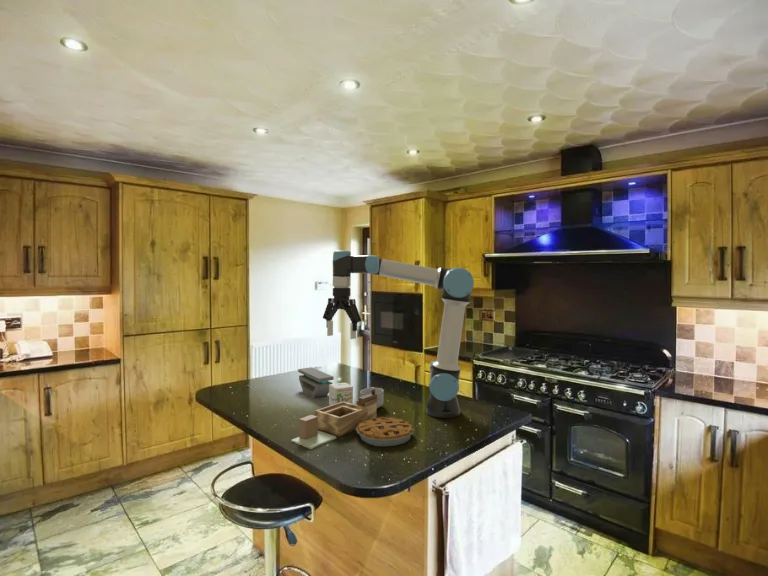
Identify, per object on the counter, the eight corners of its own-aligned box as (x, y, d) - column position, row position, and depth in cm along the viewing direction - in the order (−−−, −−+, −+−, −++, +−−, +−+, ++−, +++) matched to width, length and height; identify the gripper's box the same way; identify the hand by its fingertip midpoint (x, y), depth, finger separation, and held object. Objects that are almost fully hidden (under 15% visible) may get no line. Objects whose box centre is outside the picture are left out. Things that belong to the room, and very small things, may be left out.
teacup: (380, 411, 189) (381, 394, 189) (357, 410, 191) (357, 392, 191) (386, 402, 203) (387, 386, 202) (365, 401, 205) (365, 384, 205)
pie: (368, 452, 146) (368, 438, 146) (348, 431, 166) (348, 418, 166) (424, 443, 155) (424, 429, 155) (398, 423, 175) (398, 411, 175)
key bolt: (376, 400, 181) (377, 389, 180) (363, 405, 174) (363, 393, 173) (372, 399, 182) (372, 388, 182) (358, 404, 175) (358, 392, 175)
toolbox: (378, 420, 178) (378, 399, 178) (339, 436, 160) (339, 413, 160) (353, 413, 187) (353, 393, 186) (314, 427, 169) (314, 406, 168)
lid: (336, 439, 158) (336, 418, 158) (311, 450, 148) (311, 427, 148) (316, 432, 165) (316, 412, 164) (291, 442, 155) (291, 420, 154)
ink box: (335, 414, 185) (335, 388, 184) (328, 409, 192) (328, 383, 192) (353, 412, 188) (353, 386, 188) (345, 406, 196) (346, 381, 196)
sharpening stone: (333, 398, 209) (333, 376, 209) (319, 401, 204) (319, 378, 204) (311, 387, 229) (311, 367, 229) (298, 389, 225) (298, 369, 225)
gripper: (369, 287, 174) (369, 339, 175) (327, 286, 189) (327, 333, 190) (357, 288, 168) (357, 341, 169) (314, 286, 183) (314, 335, 184)
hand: (341, 337), depth 179 cm, fingers open, 13 cm apart
